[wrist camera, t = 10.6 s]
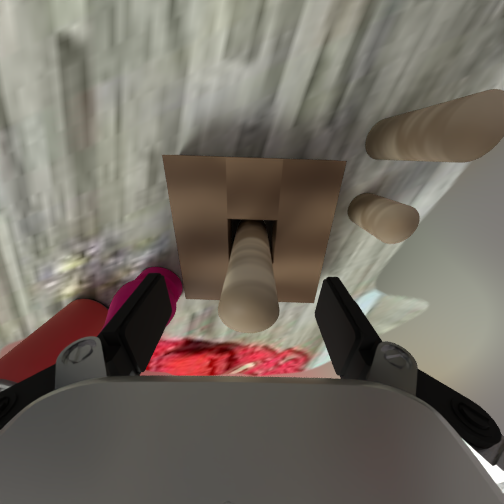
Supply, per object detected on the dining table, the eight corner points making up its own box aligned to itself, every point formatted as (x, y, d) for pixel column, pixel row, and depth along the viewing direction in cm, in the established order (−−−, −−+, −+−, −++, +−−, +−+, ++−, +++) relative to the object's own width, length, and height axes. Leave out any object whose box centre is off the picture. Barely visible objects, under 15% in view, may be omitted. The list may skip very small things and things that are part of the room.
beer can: (76, 289, 28) (-32, 371, 18) (120, 308, 30) (45, 394, 19) (67, 315, 31) (-32, 401, 20) (108, 332, 32) (36, 419, 22)
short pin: (352, 192, 21) (384, 204, 16) (383, 193, 22) (426, 206, 16) (344, 222, 23) (371, 243, 18) (373, 223, 23) (409, 244, 18)
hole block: (178, 155, 20) (162, 154, 16) (330, 160, 20) (346, 161, 16) (194, 280, 27) (185, 298, 24) (306, 283, 27) (313, 303, 24)
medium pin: (371, 117, 18) (462, 88, 10) (409, 118, 18) (529, 90, 10) (360, 159, 20) (432, 161, 12) (395, 160, 20) (489, 163, 12)
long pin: (237, 214, 23) (216, 286, 10) (267, 215, 23) (282, 288, 10) (237, 242, 24) (219, 332, 12) (265, 243, 24) (276, 334, 12)
